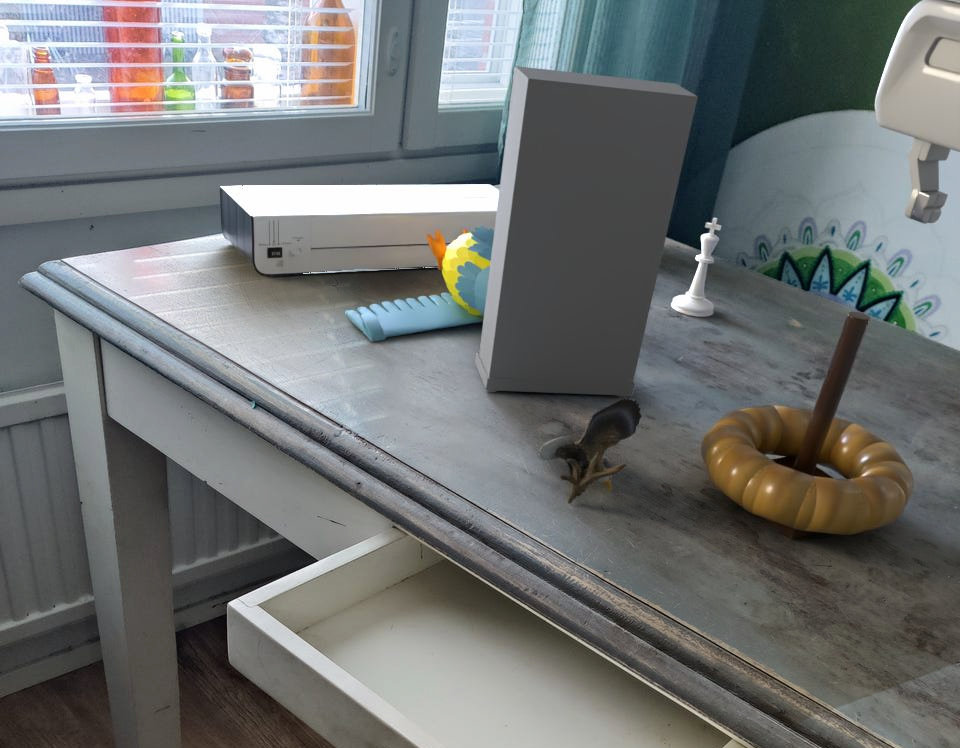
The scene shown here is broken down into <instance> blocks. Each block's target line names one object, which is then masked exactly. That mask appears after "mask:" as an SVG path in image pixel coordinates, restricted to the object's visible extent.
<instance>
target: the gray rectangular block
mask: <svg viewBox="0 0 960 748" xmlns="http://www.w3.org/2000/svg"><path fill="white" fill-rule="evenodd" d="M698 97H699V96H698V95H696V94H694V93H693V92H691V91H690V90H687V89H686V88H684V87H682V86H681V85H679V84H678V83H673V82H664V81H656V80H646V79H637V78H627V77H619V76H618V77H617V76H609V75H600V74H591V73H583V72H573V71H566V70H565V71H564V70H555V69H546V68H537V67H530V66H529V67H527V66H518V65H515V66H514V69H513V77H512V85H511V92H510V100H509V101H510V102H509V108H508V109H509V110H508V117H507V125H506V133H505V141H504V142H505V143H504V151H503V158H502V165H501V166H502V167H501V173H500V181H499V184H500V185H499V198H498V206H497V214H496V222H495V230H494V239H493V247H492V255H491V263H490V271H489V279H488V287H487V295H486V304H485V312H484V320H483V322H482V328H481V336H480V345H479V351H476V353H475V361H474V364H475V366H476V369H477V372H478V374H479V376H480V379H481V382H482V384H483V387H484V389H485V390H486V391H487V392H488V393H497V392H498V391H502V392H525V393H548V394H549V393H550V394H551V393H553V394H577V395H578V394H579V395H599V396H600V395H602V396H616V397H618V398H625V397H626V396H628V397H632V396H633V394H634V389H635V385H636V383H635V382H634V379H635V375H636V371H637V367H638V363H639V357H640V353H641V348H642V344H643V339H644V336H645V332H646V327H647V323H648V317H649V314H650V309H651V305H652V301H653V296H654V292H655V287H656V282H657V278H658V274H659V269H660V265H661V261H662V256H663V253H664V246H665V243H666V239H667V234H668V229H669V226H670V221H671V215H672V212H673V208H674V204H675V200H676V199H675V198H676V194H677V190H678V186H679V181H680V176H681V173H682V168H683V164H684V160H685V159H684V158H685V155H686V151H687V150H686V149H687V145H688V141H689V137H690V133H691V128H692V124H693V119H694V116H695V110H696V107H697V102H698Z"/></svg>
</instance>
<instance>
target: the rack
mask: <svg viewBox="0 0 960 748" xmlns="http://www.w3.org/2000/svg"><path fill="white" fill-rule="evenodd" d="M870 321H871V316H869V315H868V314H865V313H864V312H860V311H849V312H847V314H846V317H845V319H844V322H843V325H842V328H841V331H840V334H839V336H838V340H837V341H836V345H835V348H834V350H833V353H832V356H831V359H830V362H829V365H828V368H827V371H826V374H825V376H824V379H823V382H822V384H821V388H820V390H819V393H818V396H817V400H816V402H815V405H814V408H813V409H812V410H813V413H812V416H811V419H810V421H809V424H808V427H807V430H806V433H805V436H804V438H803V441H802V444H801V447H800V450H799V453H798V455H797V458H795V457H786V456H780V457H777V458H772V459H771V458H770V459H771V460H773V461H774V462H776V463H777V464H779V465H782V466H785V467H788V468H791V469H794V470H797V471H800V472H803V473H806V474H808V475H811V476H816V477H825V478H834V477H833V476H832V475H830V474H828V473H827V472H825V471H824V470H822V469H821V468H820V467H818V466H817V465H818V464H817V462H818V459H819V457H820V454H821V451H822V449H823V446H824V443H825V440H826V438H827V435H828V432H829V430H830V427H831V424H832V421H833V419H834V417H836V413H837V411H838V407H839V406H840V403H841V400H842V397H843V394H844V391H845V390H846V389H845V388H846V386H847V383H848V381H849V379H850V375H851V372H852V370H853V368H854V364H855V362H856V359H857V356H858V354H859V351H860V348H861V346H862V343H863V340H864V337H865V334H866V332H867V329H868V326H869V324H870ZM761 518H762V519H763V520H764V521H766V522H767V523H768V524H770V525H771V526H773V527H774V528H775V529H776V530H778V531H779V532H781V533H782V534H784V535H785V536H786V537H788V538H789V539H790V540H794V539H799V538H802V537H806V536H810V535H814V534H817V533H819V532H812V531H802V530H797V529H794V528H791V527H788V526H785V525H783V524H780V523H777V522H774V521H772V520H769V519H766V518H763V517H761Z"/></svg>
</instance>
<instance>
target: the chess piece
mask: <svg viewBox="0 0 960 748" xmlns="http://www.w3.org/2000/svg"><path fill="white" fill-rule="evenodd" d="M704 228H706V229H709V232H707V233H703V234H701V235H700V242H701V253H700V254H696V255H695V258H694V260H696V261H697V262H699V263H698V266H697V269H696V272H695V275H694V277H693V280H692V282H691V284H690V288H689V290H687V291H686V292H685V294H679V295H676V296H674V297H673V298H672V301H671V303H670V306H671V308H672V309H673V310H674V311H676V312H678V313H680V314H683V315H687V316H691V317H698V318H704V317H705V318H707V317H711V316H712V315H714V312H715V311H714V309H715V305H714V304H713V302H712V301H710V300H709V299H707V298H706V297H707V296H706V294H705V287H706V279H707V271H708V265H710V264H714V263H715V258H714V257H713V256H712V253H713V252H714V250H715V248H716V247H717V245H718V243H719V241H720V237H719V236H717V235H716V234H715V230H716V231H721V229H722V225H720V224H718V217H713V218H712V220H711V222H709V221H707V222H705V225H704Z"/></svg>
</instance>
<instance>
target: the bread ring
mask: <svg viewBox="0 0 960 748" xmlns="http://www.w3.org/2000/svg"><path fill="white" fill-rule="evenodd" d="M813 410H814V409H810V408H802V407H793V406H785V405H774V404H767V405H766V404H764V405H759V406H753V407H746V408H740V409H734V410H731V411H729V412H727V413H725V414H724V415H723V416H722V417H721V418H720V419H719V420H718V421H717V422H716V423H715V424H713V426H712V427H711V428H710V429H709V430H708V431H707V432H706V433H705V435H704V437H703V438H702V441H701V445H700V456H701V459H702V461H703V464H704V466H705V469H706V472H707V474H708V478H709V480H710V481H711V483H712V485H713V486H714V487H715V488H716V489H717V490H718V491H719V492H721V493H723V494H724V495H725V496H727V497H728V498H729V499H730V500H732V501H733V502H734V503H736V504H737V505H738V506H739V507H741V508H742V509H744V510H745V511H747V512H748V513H751V514H752V515H754V516H759V517H761V518H762V517H763V518H766V519H769V520H772V521H774V522H777V523H780V524H783V525H785V526H788V527H791V528H794V529H797V530H802V531H812V532H818V533H821V534H832V535H841V536H851V535H856V534H860V533H863V532H868V531H871V530H875V529H878V528H879V529H880V528H882V527H883V528H884V527H886V526H888V525H891V524H893V523H894V522H896V520H898V519H899V518H900V516H901V515H902V514H903V512H904V510H905V508H906V506H907V504H908V501H909V500H910V497H911V495H912V493H913V490H914V485H915V481H914V476H913V473H912V471H911V470H910V468H909V466H908V465H907V464H906V462H905V461H904V460H903V458H902V456H900V454H899V452H898V451H897V450H896V448H895V447H894V446H893V445H892V444H891V443H889V442H887V441H886V440H885V439H882V438H880V437H879V436H877V435H876V434H874V433H873V432H871V431H869V430H867V429H866V428H864V427H862V426H861V425H859V424H857V423H854V422H852V421H850V420H845V419H843V418H840V417H836V416H834V419H833V421H832V424H831V427H830V430H829V432H828V435H827V438H826V440H825V443H824V446H823V449H822V451H821V454H820V457H819V459H818V462H817V465H818V466H821V467H824V468H826V469H830V470H831V471H833V472H834V473H836V474H838V475H839V476H841V477H842V478H843V479H842V478H835V477H833V478H825V477H816V476H811V475H808V474H806V473H803V472H800V471H797V470H794V469H791V468H788V467H785V466H782V465H779V464H777V463H776V462H774V461H773V460H771V458H770V457H768V456H767V455H769V456H778V457H795V458H797V455H798V453H799V450H800V447H801V444H802V441H803V438H804V436H805V433H806V430H807V427H808V424H809V421H810V419H811V416H812V413H813ZM763 518H762V519H763Z"/></svg>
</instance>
